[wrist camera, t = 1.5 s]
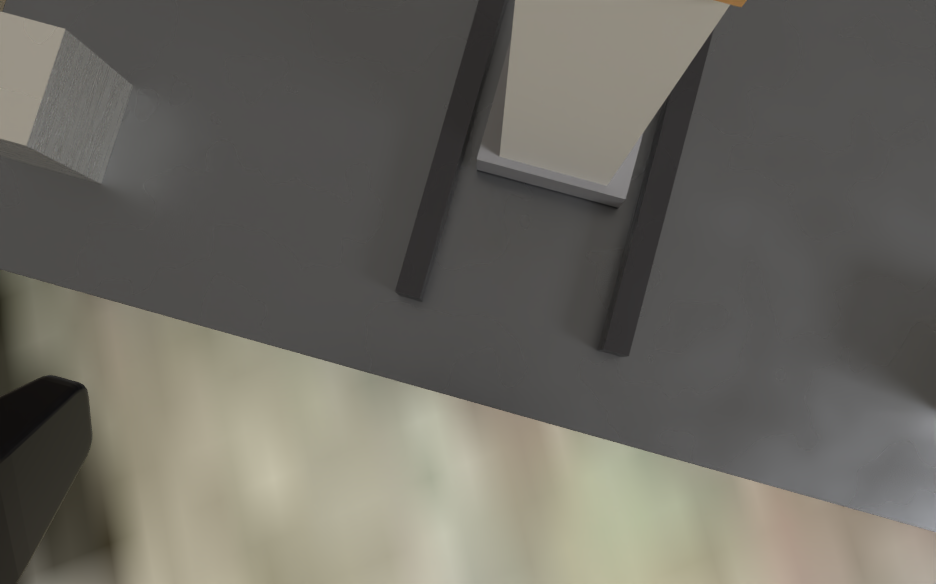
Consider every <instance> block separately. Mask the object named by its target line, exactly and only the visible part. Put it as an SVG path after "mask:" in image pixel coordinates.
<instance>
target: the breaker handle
mask: <svg viewBox="0 0 936 584" xmlns="http://www.w3.org/2000/svg"><path fill="white" fill-rule="evenodd" d="M746 1H747V0H515V6H514V16H513V26H512V36H511V40H510V43H509V47H508V50H507V54H506V57H505V61H504V64H503V68H502V71H501V75H500V78H499V82H498V85H497V89H496V93H495V96H494V100H493V103H492V107H491V110H490V114H489V117H488V121H487V124H486V128H485V131H484V135H483V138H482V142H481V146H480V149H479V153H478V156H477V170H480V171H484V172H488V173H491V174H495V175H499V176H502V177H506V178H510V179H513V180H517V181H521V182H525V183H528V184H532V185H536V186H539V187H543V188H547V189H550V190H554V191H558V192H562V193H565V194H569V195H573V196H576V197H580V198H584V199H587V200H591V201H595V202H599V203H602V204H606V205H610V206H613V207H617V208H619V207H620V206H621V204H622V203H623V202H624V201H625V200H626V196H627V192H628V189H629V185H630V181H631V177H632V173H633V170H634V166H635V162H636V158H637V155H638V151H639V147H640V143H641V139H642V136H643V132H644V131H645V129H646V128H647V126H648V125H649V123H650V122H651V120H652V119H653V117H654V116H655V114H656V113H657V112H658V110H659V109H660V107H661V106H662V104H663V103H664V101H665V100H666V98H667V97H668V95H669V94H670V92H671V91H672V90H673V88H674V87H675V85H676V84H677V82H678V81H679V79H680V78H681V76H682V75H683V73H684V72H685V70H686V69H687V68H688V66H689V65H690V63H691V62H692V60H693V59H694V57H695V56H696V54H697V53H698V51H699V50H700V48H701V47H702V45H703V44H704V43H705V41H706V40H707V38H708V37H709V35H710V34H711V32H712V31H713V29H714V28H715V26H716V25H717V23H718V22H719V21H720V19H721V18H722V16H723V15H724V13H725V12H726V10H727V9H728V7H729V6H730V5H734V6H738V7H742V6H743V5H744V3H745V2H746Z"/></svg>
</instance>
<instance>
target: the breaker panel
mask: <svg viewBox="0 0 936 584" xmlns="http://www.w3.org/2000/svg"><path fill="white" fill-rule="evenodd" d="M514 6H515V0H6V3H5V5H4V8H3V11H2V12H1V11H0V269H1V270H5V271H8V272H12V273H16V274H19V275H23V276H26V277H30V278H33V279H37V280H40V281H44V282H48V283H51V284H55V285H58V286H62V287H65V288H69V289H72V290H76V291H80V292H83V293H87V294H90V295H94V296H97V297H101V298H104V299H108V300H112V301H115V302H119V303H122V304H126V305H129V306H133V307H137V308H140V309H144V310H147V311H151V312H154V313H158V314H161V315H165V316H169V317H172V318H176V319H179V320H183V321H186V322H190V323H193V324H197V325H201V326H204V327H208V328H211V329H215V330H218V331H222V332H225V333H229V334H233V335H236V336H240V337H243V338H247V339H250V340H254V341H258V342H261V343H265V344H268V345H272V346H275V347H279V348H282V349H286V350H290V351H293V352H297V353H300V354H304V355H307V356H311V357H314V358H318V359H322V360H325V361H329V362H332V363H336V364H339V365H343V366H346V367H350V368H354V369H357V370H361V371H364V372H368V373H371V374H375V375H379V376H382V377H386V378H389V379H393V380H396V381H400V382H403V383H407V384H411V385H414V386H418V387H421V388H425V389H428V390H432V391H435V392H439V393H443V394H446V395H450V396H453V397H457V398H460V399H464V400H467V401H471V402H475V403H478V404H482V405H485V406H489V407H492V408H496V409H500V410H503V411H507V412H510V413H514V414H517V415H521V416H524V417H528V418H532V419H535V420H539V421H542V422H546V423H549V424H553V425H556V426H560V427H564V428H567V429H571V430H574V431H578V432H581V433H585V434H588V435H592V436H596V437H599V438H603V439H606V440H610V441H613V442H617V443H621V444H624V445H628V446H631V447H635V448H638V449H642V450H645V451H649V452H653V453H656V454H660V455H663V456H667V457H670V458H674V459H677V460H681V461H685V462H688V463H692V464H695V465H699V466H702V467H706V468H709V469H713V470H717V471H720V472H724V473H727V474H731V475H734V476H738V477H742V478H745V479H749V480H752V481H756V482H759V483H763V484H766V485H770V486H774V487H777V488H781V489H784V490H788V491H791V492H795V493H798V494H802V495H806V496H809V497H813V498H816V499H820V500H823V501H827V502H830V503H834V504H838V505H841V506H845V507H848V508H852V509H855V510H859V511H863V512H866V513H870V514H873V515H877V516H880V517H884V518H887V519H891V520H895V521H898V522H902V523H905V524H909V525H912V526H916V527H919V528H923V529H927V530H930V531H934V532H936V0H747V1H746V2H745V3H744V5H743V6H742V7H738V6H734V5H730V6H729V7H728V9H727V10H726V12H725V13H724V15H723V16H722V18H721V19H720V21H719V22H718V23H717V25H716V26H715V28H714V29H713V31H712V32H711V34H710V35H709V37H708V38H707V40H706V41H705V43H704V44H703V45H702V47H701V48H700V50H699V51H698V53H697V54H696V56H695V57H694V59H693V60H692V62H691V63H690V65H689V66H688V68H687V69H686V70H685V72H684V73H683V75H682V76H681V78H680V79H679V81H678V82H677V84H676V85H675V87H674V88H673V90H672V91H671V92H670V94H669V95H668V97H667V98H666V100H665V101H664V103H663V104H662V106H661V107H660V109H659V110H658V112H657V113H656V114H655V116H654V117H653V119H652V120H651V122H650V123H649V125H648V126H647V128H646V129H645V131H644V132H643V136H642V139H641V143H640V147H639V151H638V155H637V158H636V162H635V166H634V170H633V173H632V177H631V181H630V185H629V189H628V192H627V196H626V200H625V201H624V202H623V203H622V204H621V206H620V207H619V208H617V207H613V206H610V205H606V204H602V203H599V202H595V201H591V200H587V199H584V198H580V197H576V196H573V195H569V194H565V193H562V192H558V191H554V190H550V189H547V188H543V187H539V186H536V185H532V184H528V183H525V182H521V181H517V180H513V179H510V178H506V177H502V176H499V175H495V174H491V173H488V172H484V171H480V170H477V156H478V153H479V149H480V146H481V142H482V138H483V135H484V131H485V128H486V124H487V121H488V117H489V114H490V110H491V107H492V103H493V100H494V96H495V93H496V89H497V85H498V82H499V78H500V75H501V71H502V68H503V64H504V61H505V57H506V54H507V50H508V47H509V43H510V40H511V36H512V26H513V16H514Z"/></svg>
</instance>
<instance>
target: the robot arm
mask: <svg viewBox="0 0 936 584" xmlns="http://www.w3.org/2000/svg"><path fill="white" fill-rule="evenodd" d="M91 443H92V426H91V416H90V406H89V396H88V391H87V389H86V388H85V386H84V385H83V384H81V383H79V382H75V381H72V380H68V379H65V378H61V377H58V376H52V375H48V376H44V377H41V378H38V379H36V380H34V381H32V382H30V383H28V384H26V385H24V386H21V387H19V388H17V389H15V390H13V391H11V392H9V393H7V394H5V395H3V396H1V397H0V584H17V582H18V581H19V579H20V577H21V576H22V574H23V572H24V571H25V569H26V567H27V565H28V564H29V562H30V560H31V558H32V557H33V555H34V553H35V551H36V549H37V547H38V546H39V544H40V542H41V540H42V538H43V536H44V534H45V533H46V531H47V529H48V527H49V525H50V523H51V522H52V520H53V518H54V516H55V514H56V512H57V511H58V509H59V507H60V505H61V503H62V501H63V500H64V498H65V496H66V494H67V492H68V490H69V489H70V487H71V485H72V483H73V481H74V479H75V477H76V476H77V474H78V472H79V470H80V468H81V466H82V465H83V463H84V461H85V459H86V457H87V455H88V453H89V450H90V447H91Z"/></svg>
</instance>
